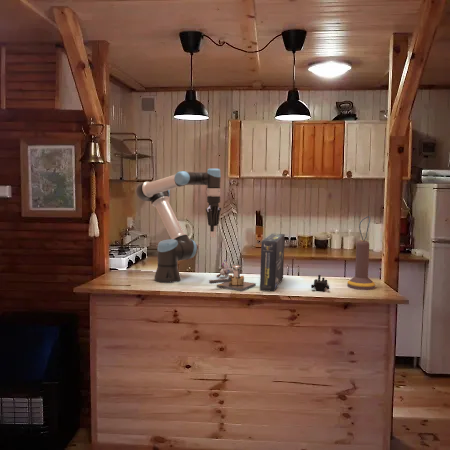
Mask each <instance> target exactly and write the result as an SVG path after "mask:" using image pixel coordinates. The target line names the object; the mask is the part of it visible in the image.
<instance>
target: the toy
mask: <svg viewBox="0 0 450 450" xmlns="http://www.w3.org/2000/svg"><path fill="white" fill-rule="evenodd" d="M321 276H322V275H321V274H318V277H317V278H316V279H313V284H311V285H310V288H311V289H315V292H322V293H326V292H325V291H326V290H329V289H330V285H328V280H327V279H325V277H322V278H321Z"/></svg>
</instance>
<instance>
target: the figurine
mask: <svg viewBox="0 0 450 450" xmlns="http://www.w3.org/2000/svg"><path fill="white" fill-rule="evenodd" d="M224 262H225V263H224ZM224 262H222V263H221V269H220V271H219V274H217V275H215V277H216V278H219V277H220V276H224V275H225V276H224V278H227V277H229V274H231V272H233V268H232V267H231V266H230V265H229V264H228V262H227V259H224Z"/></svg>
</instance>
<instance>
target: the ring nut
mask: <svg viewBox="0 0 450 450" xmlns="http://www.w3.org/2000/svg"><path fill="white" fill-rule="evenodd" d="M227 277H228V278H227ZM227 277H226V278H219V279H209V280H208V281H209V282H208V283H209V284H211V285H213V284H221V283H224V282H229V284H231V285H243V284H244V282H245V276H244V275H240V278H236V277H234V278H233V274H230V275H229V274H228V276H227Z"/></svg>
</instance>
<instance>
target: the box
mask: <svg viewBox="0 0 450 450" xmlns="http://www.w3.org/2000/svg"><path fill="white" fill-rule="evenodd" d="M285 235H286V234H285V233H284V234H283V233H271V234H269V235H267V237H266V238H264V239H262V240H261V244H260V245H261V248H260V250H261V251H260V273H259V275H260V277H259V291H262V292H263V291H264V292H275V291H276V290H277V288H278V287H279V285H280V284H281V282H282V280H283V279H284V264H285V263H284V260H285V237H286V236H285Z"/></svg>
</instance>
